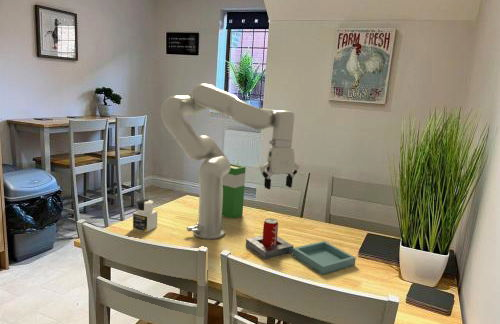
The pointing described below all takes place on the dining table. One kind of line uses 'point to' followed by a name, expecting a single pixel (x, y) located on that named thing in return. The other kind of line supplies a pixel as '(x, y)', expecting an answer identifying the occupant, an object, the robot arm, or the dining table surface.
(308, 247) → the tray
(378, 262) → the dining table surface
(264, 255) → the grey square frame
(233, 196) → the green cereal box
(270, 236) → the soda can
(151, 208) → the medicine bottle
